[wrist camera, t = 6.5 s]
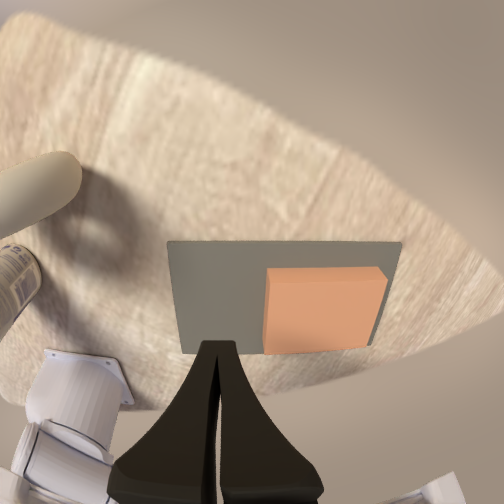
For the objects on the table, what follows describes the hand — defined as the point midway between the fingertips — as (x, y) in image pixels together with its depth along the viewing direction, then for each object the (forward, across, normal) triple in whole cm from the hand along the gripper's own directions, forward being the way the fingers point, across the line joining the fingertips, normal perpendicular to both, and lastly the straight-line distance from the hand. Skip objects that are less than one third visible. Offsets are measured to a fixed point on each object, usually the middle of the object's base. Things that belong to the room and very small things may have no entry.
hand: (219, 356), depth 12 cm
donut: (+11, +13, -6) cm, 18 cm away
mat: (+10, -5, +5) cm, 13 cm away
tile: (+9, -3, +5) cm, 11 cm away
